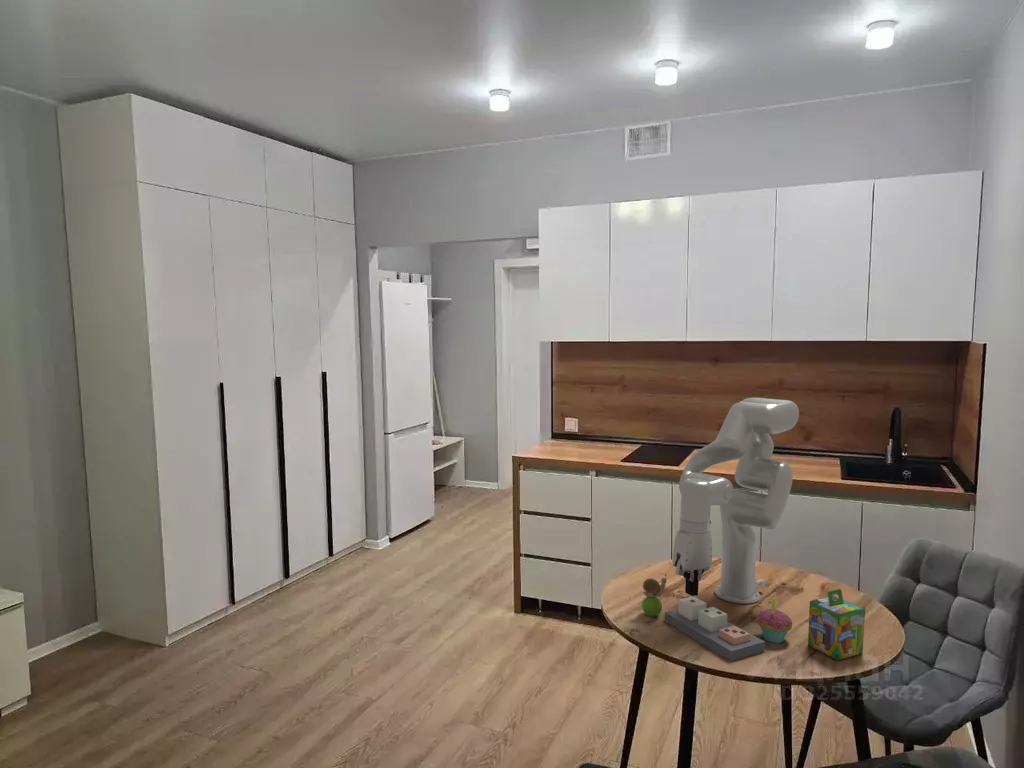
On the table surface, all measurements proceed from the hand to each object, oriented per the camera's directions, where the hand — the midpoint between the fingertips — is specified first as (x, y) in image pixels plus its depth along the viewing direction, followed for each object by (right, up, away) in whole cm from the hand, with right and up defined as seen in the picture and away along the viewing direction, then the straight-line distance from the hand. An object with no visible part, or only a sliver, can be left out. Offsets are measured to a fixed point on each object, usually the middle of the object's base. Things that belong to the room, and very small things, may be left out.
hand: (691, 594), depth 176 cm
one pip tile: (0, -6, +1) cm, 6 cm away
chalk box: (+32, -10, -12) cm, 36 cm away
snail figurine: (-9, -8, +6) cm, 13 cm away
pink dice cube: (+7, -9, -12) cm, 17 cm away
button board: (+4, -9, -5) cm, 11 cm away
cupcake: (+19, -9, -7) cm, 22 cm away
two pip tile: (+4, -7, -6) cm, 10 cm away
